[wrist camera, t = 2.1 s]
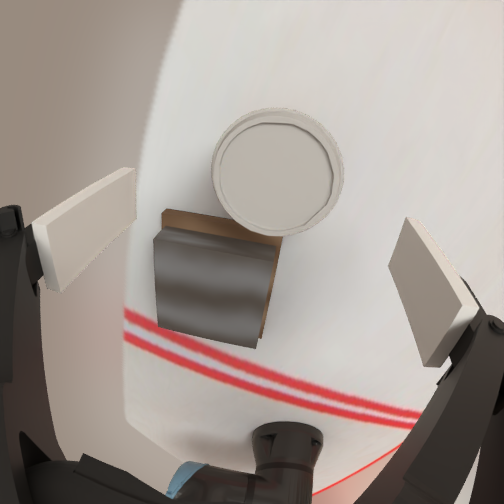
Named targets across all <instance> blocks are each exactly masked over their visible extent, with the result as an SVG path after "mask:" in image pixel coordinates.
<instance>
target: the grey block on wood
mask: <svg viewBox="0 0 504 504" xmlns="http://www.w3.org/2000/svg"><path fill="white" fill-rule="evenodd" d="M282 238H283V236H267V235H263V234H260V233H257V232H254V231H250V230H249V229H247V228H246V227H244V226H242V225H241V224H239V223H238V222H236V221H235V220H231V219H226V218H220V217H214V216H208V215H202V214H197V213H191V212H185V211H179V210H172V209H166V210H165V211H164V212H163V213H162V230H161V231H160V232H159V233H158V234H157V236H156V237H155V238H154V239H153V243H154V271H155V290H156V305H157V318H158V327H161V328H165V329H169V330H173V331H177V332H181V333H185V334H189V335H193V336H197V337H202V338H206V339H210V340H215V341H220V342H224V343H229V344H234V345H238V346H243V347H249V348H254V349H256V346H257V341H258V338H260V339H261V338H262V334H263V329H264V324H265V320H266V315H267V311H268V306H269V301H270V297H271V292H272V287H273V282H274V277H275V273H276V268H277V263H278V258H279V253H280V248H281V243H282Z"/></svg>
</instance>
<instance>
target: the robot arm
mask: <svg viewBox="0 0 504 504" xmlns="http://www.w3.org/2000/svg"><path fill="white" fill-rule="evenodd" d="M136 219H137V216H136V169H134V168H126V167H122V168H120V169H119V170H117V171H115V172H113V173H111V174H109V175H108V176H106V177H104V178H102V179H101V180H99V181H97V182H95V183H93V184H92V185H90V186H88V187H87V188H85V189H83V190H81V191H80V192H78V193H76V194H75V195H73V196H71V197H70V198H68V199H67V200H65V201H64V202H62V203H60V204H59V205H57V206H56V207H54V208H52V209H51V210H49V211H48V212H47V213H45V214H43V215H42V216H40V217H39V218H37V219H36V220H34V221H33V222H32V223H31V224H30V225H29V226H27V227H26V228H24V223H23V218H22V212H21V207H20V206H18V205H9V206H5V207H2V208H0V504H311V503H312V488H313V471H314V467H315V464H316V462H317V460H318V457H319V455H320V452H321V450H322V447H323V434H322V433H321V432H320V431H319V430H318V429H316V428H315V427H312V426H310V425H306V424H302V423H295V422H276V423H270V424H266V425H263V426H260V427H259V428H257V429H256V430H255V431H254V433H253V438H252V447H253V451H254V456H255V461H256V471H255V474H250V473H244V472H239V471H234V470H229V469H224V468H220V467H215V466H211V465H209V464H201V463H197V462H192V461H189V462H185V463H184V464H182V465H181V466H180V467H179V468H178V470H177V471H176V473H175V474H174V476H173V478H172V480H171V482H170V484H169V487H168V491H167V493H166V495H164V494H162V493H160V492H159V491H157V490H155V489H154V488H152V487H150V486H149V485H147V484H145V483H144V482H142V481H140V480H139V479H137V478H136V477H134V476H133V475H131V474H130V473H128V472H126V471H124V470H121V469H119V468H116V467H113V466H111V465H109V464H106V463H104V462H102V461H99V460H97V459H95V458H93V457H90V456H88V455H86V454H84V453H83V455H82V457H81V459H80V461H79V462H78V461H67V460H66V458H65V456H64V454H63V452H62V450H61V448H60V447H59V445H58V442H57V439H56V435H55V431H54V426H53V421H52V416H51V411H50V406H49V400H48V393H47V387H46V380H45V371H44V362H43V352H42V341H41V340H42V339H41V321H40V287H39V284H38V280H39V279H40V278H41V277H42V276H44V279H45V283H46V286H47V289H50V290H53V291H56V292H59V293H62V292H63V291H64V290H65V289H66V288H67V287H68V286H69V284H70V283H71V282H72V281H73V280H74V279H75V278H76V277H77V276H78V275H79V274H80V273H81V272H82V271H83V270H84V269H85V268H86V267H87V266H88V265H89V264H90V263H91V262H92V261H93V260H94V259H95V258H96V257H97V256H98V255H99V254H100V253H101V252H102V251H103V250H104V249H105V248H106V247H107V246H108V245H109V244H110V243H111V242H112V241H114V240H115V239H116V238H117V237H118V236H119V235H120V234H121V233H122V232H123V231H124V230H125V229H126V228H128V227H129V226H130V225H131V224H132V223H133V222H134V221H135V220H136ZM388 267H389V270H390V272H391V275H392V277H393V280H394V282H395V285H396V287H397V290H398V292H399V295H400V298H401V300H402V303H403V306H404V309H405V311H406V314H407V317H408V320H409V323H410V326H411V329H412V332H413V335H414V338H415V341H416V344H417V347H418V350H419V353H420V356H421V360H422V363H423V366H424V367H439V368H440V367H441V366H442V365H443V363H444V362H445V360H446V359H447V358H448V356H450V359H451V362H452V364H451V366H450V367H449V368H448V370H447V371H446V372H445V374H444V375H443V376H442V378H441V379H440V380H439V381H438V383H437V384H436V385H438V388H437V390H436V391H435V393H434V395H433V397H432V398H431V400H430V402H429V403H428V405H427V407H426V408H425V410H424V411H423V413H422V415H421V416H420V418H419V419H418V421H417V422H416V424H415V426H414V427H413V429H412V430H411V432H410V433H409V434H408V436H407V437H406V439H405V440H404V442H403V443H402V445H401V446H400V447H399V449H398V450H397V451H396V453H395V454H394V455H393V457H392V458H391V460H390V461H389V462H388V463H387V465H386V466H385V467H384V469H383V470H382V471H381V472H380V473H379V475H378V476H377V477H376V478H375V480H374V481H373V482H372V483H371V484H370V486H369V487H368V488H367V489H366V490H365V491H364V492H363V494H362V495H361V496H360V497H359V498H358V499H357V500H356V501H355V502H354V504H454V502H455V500H456V499H457V497H458V495H459V493H460V491H461V489H462V487H463V485H464V483H465V481H466V478H467V477H468V474H469V472H470V470H471V468H472V466H473V463H474V461H475V458H476V456H477V454H478V451H479V449H480V447H481V449H480V455H479V462H478V466H477V472H476V477H475V481H474V486H473V490H472V494H471V498H470V502H469V504H504V322H502V321H501V320H500V319H499V318H497V317H495V316H492V315H486V313H485V311H484V310H483V308H482V306H481V305H480V303H479V301H478V300H477V298H475V295H474V293H473V292H472V291H471V289H470V287H469V285H468V284H467V282H466V281H465V280H464V279H463V278H461V277H460V276H459V275H458V273H457V272H456V270H455V269H454V267H453V266H452V264H451V263H450V261H449V260H448V258H447V257H446V256H445V254H444V253H443V251H442V250H441V249H440V247H439V246H438V244H437V243H436V242H435V240H434V239H433V238H432V236H431V235H430V234H429V232H428V231H427V230H426V228H425V227H424V226H423V224H422V223H421V222H420V221H419V220H416V219H412V218H408V217H406V218H405V221H404V224H403V227H402V230H401V233H400V235H399V238H398V241H397V244H396V247H395V249H394V252H393V255H392V257H391V260H390V262H389V265H388Z"/></svg>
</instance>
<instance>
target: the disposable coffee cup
mask: <svg viewBox="0 0 504 504" xmlns="http://www.w3.org/2000/svg"><path fill="white" fill-rule="evenodd" d="M211 177H212V182H213V186H214V189H215V192H216V194H217V197H218V199H219V201H220V202H221V204H222V206H223V207H224V209H225V210H226V211H227V212H228V214H229V215H230V216H231V217H232V218H233V219H234V220H235V221H236V222H238V223H239V224H241V225H242V226H244V227H246V228H247V229H249V230H250V231H254V232H257V233H260V234H263V235H267V236H288V235H294V234H297V233H300V232H303V231H305V230H307V229H309V228H311V227H312V226H314V225H316V224H317V223H319V222H320V221H321V220H322V219H324V218H325V217H326V216H327V215H328V214H329V212H330V211H331V210H332V209H333V208H334V206H335V204H336V203H337V201H338V199H339V196H340V194H341V191H342V187H343V183H344V166H343V160H342V155H341V153H340V150H339V148H338V146H337V143H336V142H335V140H334V139H333V137H332V136H331V134H330V133H329V132H328V131H327V129H326V128H325V127H323V126H322V125H321V124H320V123H319V122H317V121H316V120H314V119H313V118H311V117H310V116H308V115H306V114H303V113H301V112H298V111H296V110H291V109H287V108H266V109H260V110H257V111H253V112H251V113H248V114H246V115H244V116H242V117H241V118H239V119H238V120H236V121H235V122H234V123H233V124H231V125H230V126H229V127H228V129H227V130H226V131H225V132H224V133H223V134H222V136H221V138H220V139H219V141H218V143H217V145H216V148H215V151H214V154H213V157H212V164H211Z"/></svg>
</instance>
